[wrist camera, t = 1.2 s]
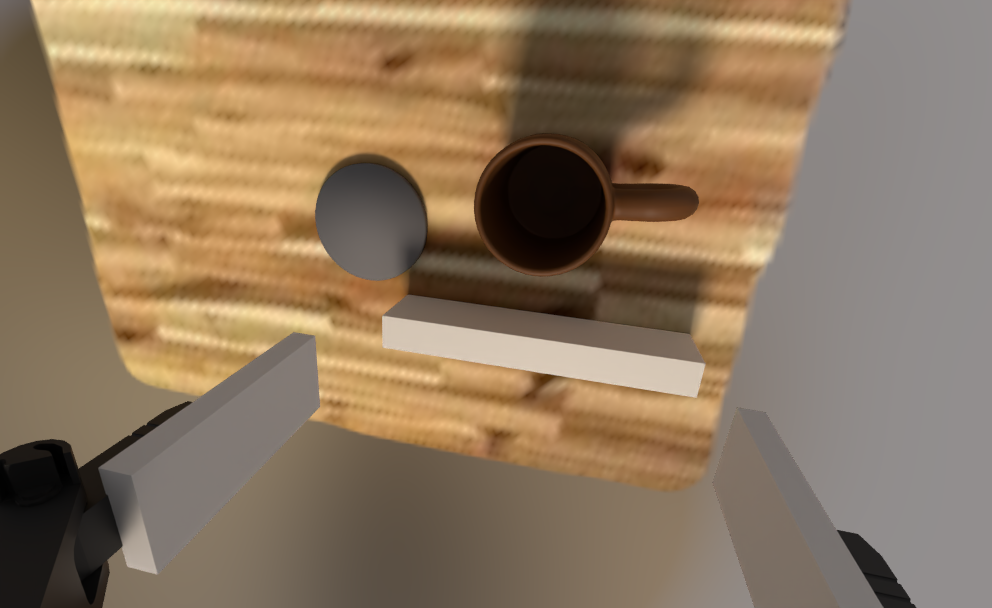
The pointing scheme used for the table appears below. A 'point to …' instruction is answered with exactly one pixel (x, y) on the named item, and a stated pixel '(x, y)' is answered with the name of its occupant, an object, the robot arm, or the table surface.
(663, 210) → the mug
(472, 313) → the board
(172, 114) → the table surface
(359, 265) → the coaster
